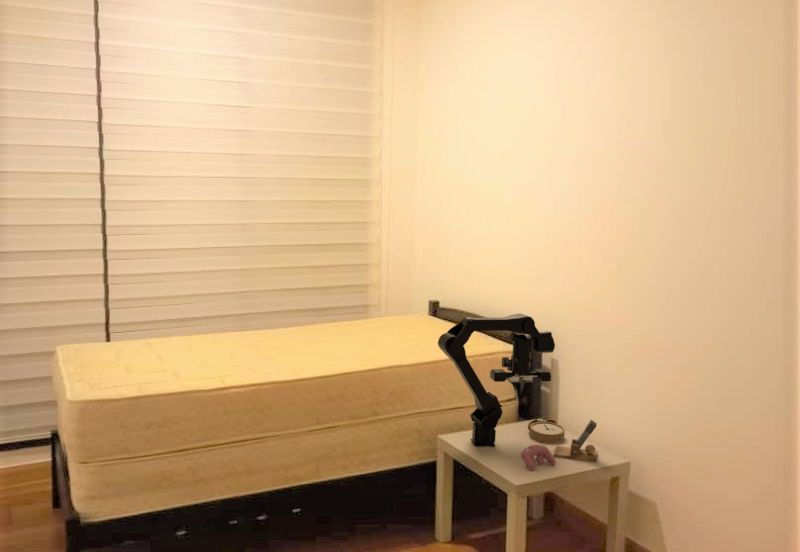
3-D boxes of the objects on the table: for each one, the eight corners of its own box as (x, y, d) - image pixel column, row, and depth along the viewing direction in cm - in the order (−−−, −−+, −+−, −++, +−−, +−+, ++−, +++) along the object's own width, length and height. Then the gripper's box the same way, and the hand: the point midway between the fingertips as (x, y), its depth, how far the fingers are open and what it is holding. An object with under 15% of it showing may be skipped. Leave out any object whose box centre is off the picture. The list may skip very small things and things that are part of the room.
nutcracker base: (553, 456, 227) (554, 443, 226) (556, 448, 234) (556, 436, 234) (596, 462, 223) (597, 449, 223) (597, 453, 231) (597, 440, 230)
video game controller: (547, 466, 222) (541, 443, 224) (557, 464, 219) (551, 440, 221) (523, 472, 217) (516, 448, 219) (533, 470, 213) (526, 446, 215)
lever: (571, 449, 227) (590, 422, 225) (571, 446, 230) (591, 419, 228) (576, 453, 227) (596, 426, 225) (577, 450, 230) (596, 423, 228)
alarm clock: (535, 435, 238) (524, 413, 252) (533, 449, 239) (522, 426, 254) (569, 435, 239) (556, 413, 253) (567, 448, 240) (554, 426, 255)
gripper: (541, 348, 247) (539, 394, 248) (486, 348, 244) (484, 394, 246) (553, 355, 236) (550, 403, 237) (495, 355, 233) (493, 404, 235)
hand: (519, 401), depth 239 cm, fingers closed
